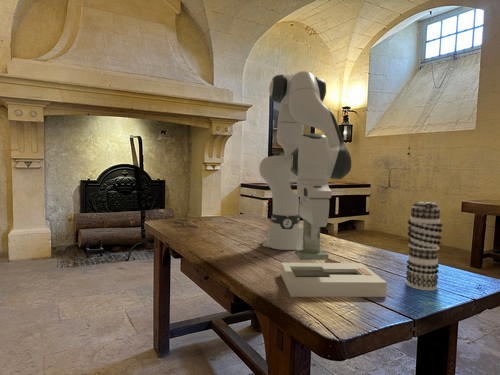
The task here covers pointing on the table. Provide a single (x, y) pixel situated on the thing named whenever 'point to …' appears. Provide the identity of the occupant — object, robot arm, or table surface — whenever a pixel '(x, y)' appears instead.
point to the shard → (331, 261)
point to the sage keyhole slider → (310, 246)
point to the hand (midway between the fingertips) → (311, 237)
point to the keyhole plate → (332, 280)
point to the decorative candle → (423, 246)
